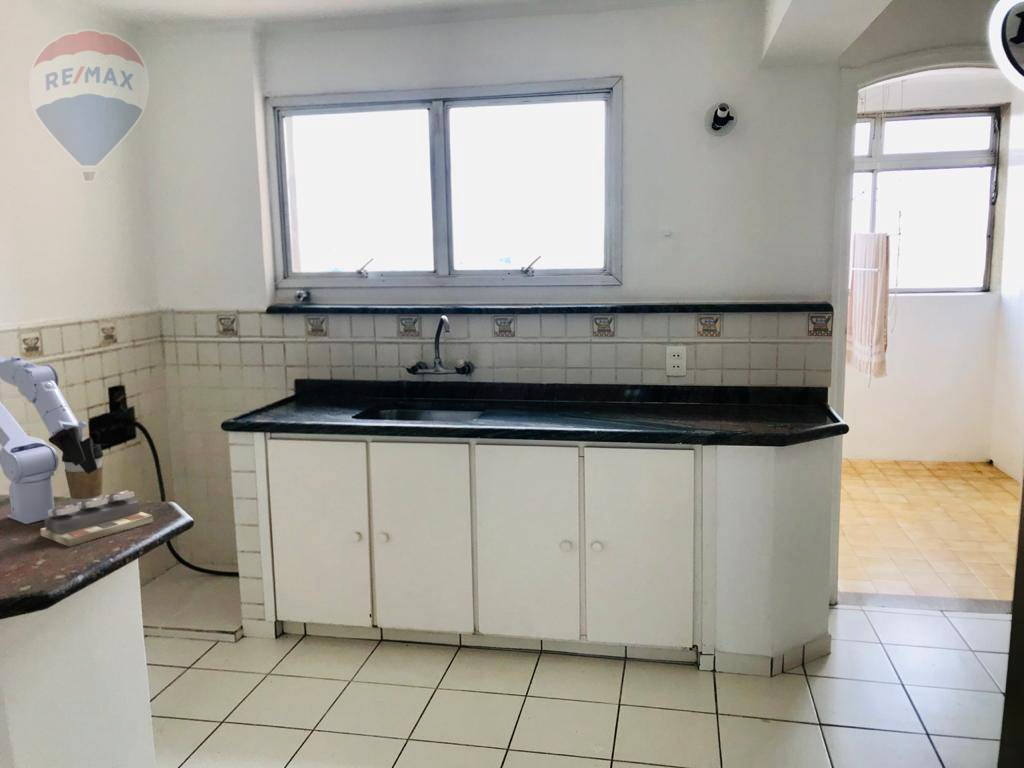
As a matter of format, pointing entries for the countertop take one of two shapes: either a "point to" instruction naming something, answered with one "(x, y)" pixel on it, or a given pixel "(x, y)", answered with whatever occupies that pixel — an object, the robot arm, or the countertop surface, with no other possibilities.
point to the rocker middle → (92, 503)
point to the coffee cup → (84, 478)
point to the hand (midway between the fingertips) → (86, 467)
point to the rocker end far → (119, 496)
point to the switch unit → (95, 522)
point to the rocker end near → (63, 510)
